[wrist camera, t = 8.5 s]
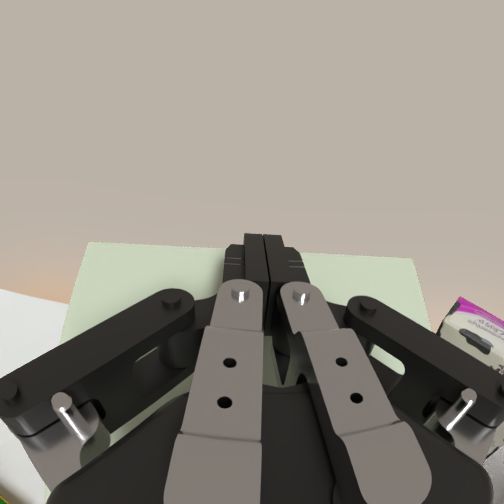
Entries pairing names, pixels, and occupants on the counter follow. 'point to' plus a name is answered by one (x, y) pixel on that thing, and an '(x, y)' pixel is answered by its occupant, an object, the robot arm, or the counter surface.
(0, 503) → the dish sponge
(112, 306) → the lid
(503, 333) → the candy bar box
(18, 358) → the counter surface
